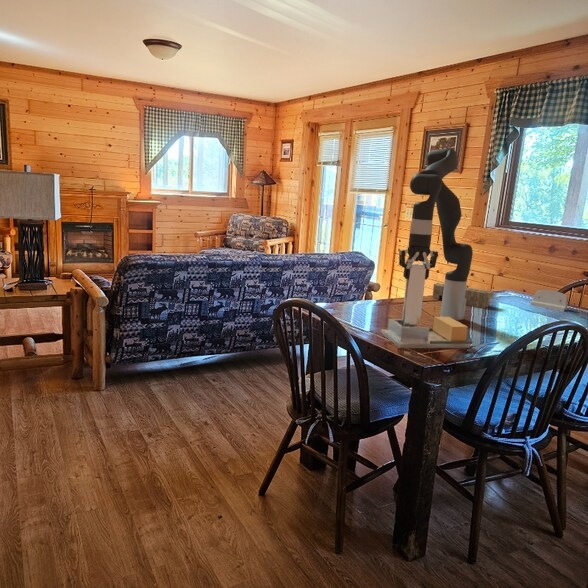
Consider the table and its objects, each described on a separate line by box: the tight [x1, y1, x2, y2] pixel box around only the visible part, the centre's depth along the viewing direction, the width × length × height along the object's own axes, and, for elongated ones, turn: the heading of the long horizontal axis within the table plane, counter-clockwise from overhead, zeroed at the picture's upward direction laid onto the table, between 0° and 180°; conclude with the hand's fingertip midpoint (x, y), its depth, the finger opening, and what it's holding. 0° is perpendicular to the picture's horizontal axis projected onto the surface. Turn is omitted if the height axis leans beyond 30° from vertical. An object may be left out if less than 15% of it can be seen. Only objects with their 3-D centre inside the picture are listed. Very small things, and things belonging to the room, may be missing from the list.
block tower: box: [432, 282, 494, 309], centre depth 257 cm, size 8×8×29 cm
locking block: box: [432, 316, 469, 341], centre depth 187 cm, size 6×14×6 cm, turn 11°
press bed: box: [380, 318, 473, 349], centre depth 185 cm, size 28×18×6 cm, turn 101°
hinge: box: [530, 289, 569, 312], centre depth 258 cm, size 17×5×10 cm, turn 47°
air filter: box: [401, 263, 426, 327], centre depth 181 cm, size 6×6×25 cm
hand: (415, 278), depth 180 cm, fingers closed on air filter, 6 cm apart
